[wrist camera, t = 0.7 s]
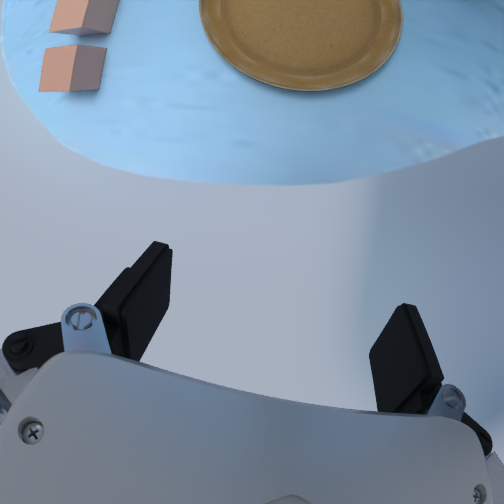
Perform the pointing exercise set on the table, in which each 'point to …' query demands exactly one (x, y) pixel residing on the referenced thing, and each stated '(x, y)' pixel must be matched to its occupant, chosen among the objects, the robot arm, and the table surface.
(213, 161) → the table surface
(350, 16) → the plant saucer
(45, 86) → the salmon orange block
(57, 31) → the toy block
